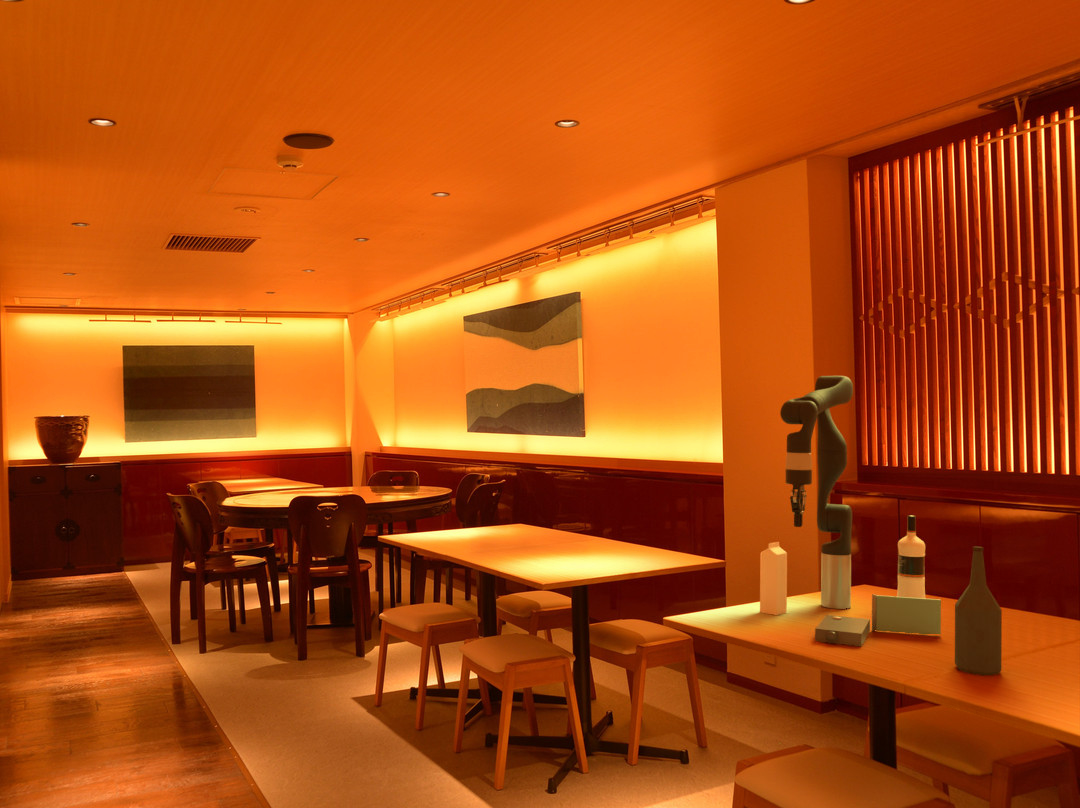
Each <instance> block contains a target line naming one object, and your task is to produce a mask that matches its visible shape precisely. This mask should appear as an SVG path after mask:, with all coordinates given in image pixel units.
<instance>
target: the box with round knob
mask: <svg viewBox="0 0 1080 808" xmlns="http://www.w3.org/2000/svg"><path fill="white" fill-rule="evenodd" d="M814 630H815V631H814V640H815V642H817V641H821V642H820V643H825V642H828V643H827V644H834V643H836V644H835V645H842V644H845V645H844V646H851V645H855V646H854V647H859V646H863V645H864V643H865V641H866V640H867V638H868V636H869V634H870V632H871V619H869V618H863V617H851V616H845V615H844V616H842V615H832V614H826V615H825V616H824V617H823V618H822V620H821V621H820V622H819V623H818V625H817V626H816V627H815V629H814ZM869 631H870V632H869ZM868 633H869V634H868ZM867 635H868V636H867ZM866 637H867V638H866ZM865 639H866V640H865ZM862 644H863V645H862Z"/></svg>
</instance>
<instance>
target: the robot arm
mask: <svg viewBox="0 0 1080 808" xmlns="http://www.w3.org/2000/svg"><path fill="white" fill-rule="evenodd" d="M853 393H854V386H853V382H852V379H850V378H849V377H848V376H845V375H821V376H819V377H817V378H816V381H815V385H814V391H813V390H812V391H810V392H808V393H807V394H805V395H803V396H800V397H796V398H791V399H789V400H787V401H785V402H784V403H783V404H782V406H781V407H780V413H779V414H780V418H781V420H782V421H783V422H784V423H785V424H787V425H802V427H801V428H800V430H798V431H794V432H791V433H790V432H789V434H787V436H786V455H785V483H786V484H787V485H792V490H790V497H789V499H790V506H791V511H792V513H793V526H794V528H795V527H796V528H801V527H803V523H804V522H803V520H804V519H803V518H804V517H803V514H804V513H805V510H806V502H807V497H808V496H807V490H806V488H805V486H807V485H810V486H811V485H812V483H813V459H812V438H813V433H814V429H815V426H816V424H817V446H816V447H817V448H816V450H817V451H816V452H817V453H816V454H817V456H816V457H817V459H816V460H817V478H818V479H817V480H818V481H817V484H818V485H817V502H816V503H817V504H816V505H817V508H816V523H817V524H816V525H817V526H816V527H817V528H818V530H819V531H820V532H823V533H835V534H836V533H837V534H840V535H839V537H838V538H836V539H835V540H831V541H828V542H824V543H822V544H821V547H820V548H821V552H820V553H821V554H820V556H821V560H820V561H821V564H820V566H821V570H820V571H821V575H820V577H821V578H820V579H821V580H820V583H821V584H820V586H821V587H820V606H822V607H823V608H828V609H838V610H844V609H845V610H846V608H847V609H850V608H851V606H852V605H851V604H852V602H851V601H852V599H851V598H852V588H851V587H852V529H853V528H852V527H853V509H852V508H851V506H850V505H847V504H836V503H829V499H830V494H831V492H832V490H833V488H834V486H835V485H836V482H838V480H839V479H840V477H841V476H842V474H843V473H844V471H845V469H846V468H847V464H848V446H847V442H846V439H845V438H844V435H843V434H842V433H841V432H840V430H839V429H838V428H837V425H836V423H835V422H834V420H833V418H832V414H831V411H830V409H831V408H833V407H836V406H839V405H845V404H848V403H849V402H850V401H851V400H852V397H853Z"/></svg>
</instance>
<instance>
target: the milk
mask: <svg viewBox="0 0 1080 808" xmlns="http://www.w3.org/2000/svg"><path fill="white" fill-rule="evenodd" d="M759 563H760V565H759V568H760V569H759V571H760V573H759V574H760V575H759V576H760V577H759V578H760V580H759V613H761V614H762V613H763V614H766V615H767V614H768V615H772V614H773V615H772V616H779V614H780V615H783V613H784V614H786V612H787V608H788V607H787V606H788V600H787V599H788V598H787V597H788V552H787V551H785V550H784V549H783V548H781V546H780V541H774V542H769V543H768V546H767V548H765V549H764V550H763V551H761V552H760V561H759Z"/></svg>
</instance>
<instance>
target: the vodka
mask: <svg viewBox="0 0 1080 808" xmlns="http://www.w3.org/2000/svg"><path fill="white" fill-rule="evenodd" d="M906 518H907V519H906V520H907V521H906V522H907V526H906V527H907V528H906V529H907V530H906V535H905V536H904V537H902V538H901V539H899V540H898V542H897V558H898V559H897V592H896V597H910V598H925V599H926V589H925V585H926V584H925V582H926V578H925V556H926V543H925V542H924V540H922V539H921V538H919V537H918V536H917V523H916V522H917V520H916V519H917V517H916V515H907V517H906Z"/></svg>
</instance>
